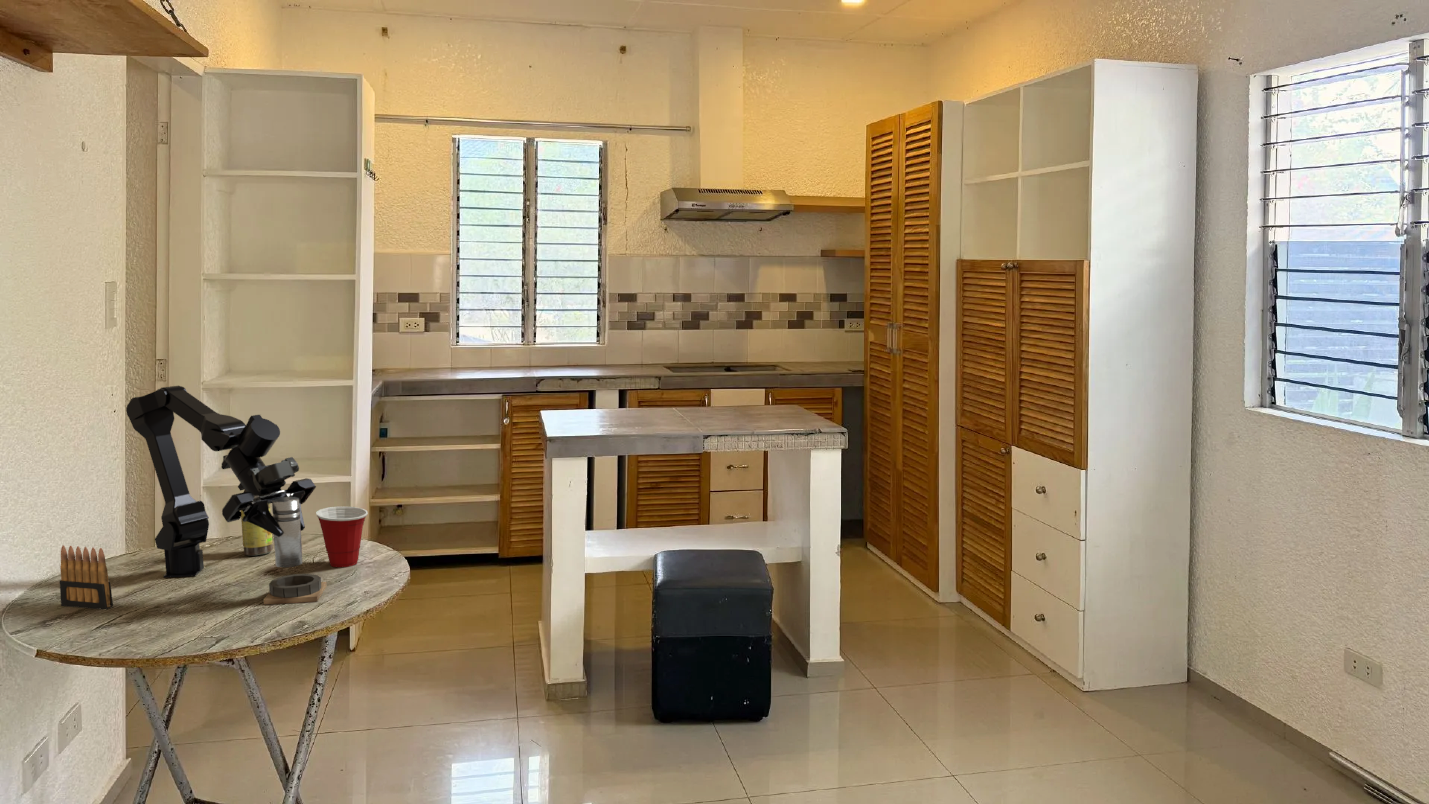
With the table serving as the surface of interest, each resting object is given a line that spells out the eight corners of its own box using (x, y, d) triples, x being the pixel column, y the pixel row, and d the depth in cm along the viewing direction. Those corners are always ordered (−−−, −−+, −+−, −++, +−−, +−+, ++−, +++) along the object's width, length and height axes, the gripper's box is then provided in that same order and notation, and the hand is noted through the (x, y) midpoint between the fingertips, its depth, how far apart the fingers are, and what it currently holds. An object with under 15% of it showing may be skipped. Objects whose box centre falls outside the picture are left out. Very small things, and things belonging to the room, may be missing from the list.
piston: (276, 568, 216) (272, 503, 214) (274, 562, 220) (270, 498, 218) (303, 565, 218) (300, 501, 216) (301, 559, 222) (298, 496, 220)
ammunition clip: (60, 605, 215) (55, 546, 214) (68, 602, 217) (63, 543, 215) (106, 609, 213) (101, 549, 211) (113, 606, 214) (108, 546, 213)
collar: (263, 604, 215) (262, 589, 215) (275, 589, 225) (274, 574, 224) (317, 601, 217) (316, 586, 216) (326, 586, 226) (325, 572, 226)
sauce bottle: (275, 554, 251) (269, 468, 248) (245, 558, 248) (239, 471, 245) (271, 548, 256) (265, 463, 254) (242, 551, 253) (236, 466, 251)
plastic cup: (354, 572, 236) (351, 517, 235) (308, 569, 238) (305, 515, 237) (379, 558, 247) (377, 506, 245) (335, 556, 249) (332, 504, 247)
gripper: (228, 454, 210) (270, 517, 206) (307, 439, 226) (348, 498, 222) (203, 490, 214) (244, 553, 211) (283, 473, 231) (322, 531, 227)
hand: (292, 532), depth 217 cm, fingers closed on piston, 5 cm apart
